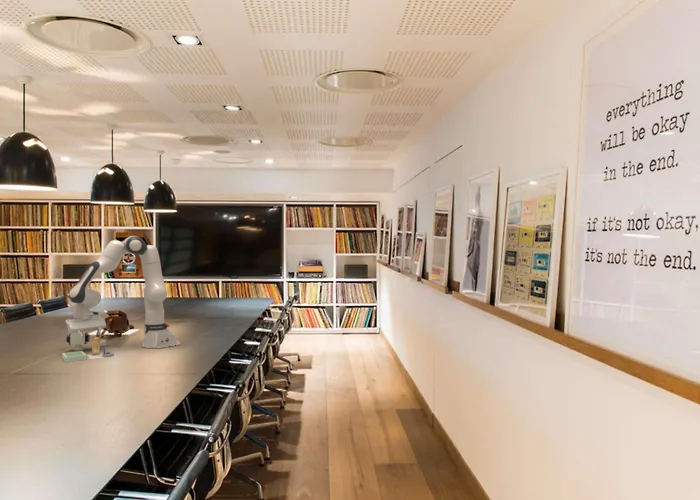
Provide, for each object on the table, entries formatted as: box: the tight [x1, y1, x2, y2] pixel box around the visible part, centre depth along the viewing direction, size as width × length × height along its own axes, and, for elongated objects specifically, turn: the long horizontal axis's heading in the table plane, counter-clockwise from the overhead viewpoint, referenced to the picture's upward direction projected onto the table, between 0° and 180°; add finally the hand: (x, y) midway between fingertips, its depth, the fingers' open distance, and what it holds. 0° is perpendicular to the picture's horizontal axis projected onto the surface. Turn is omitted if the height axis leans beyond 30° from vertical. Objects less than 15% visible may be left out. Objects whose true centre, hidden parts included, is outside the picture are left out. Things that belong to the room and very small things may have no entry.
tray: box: [61, 350, 88, 363], centre depth 267 cm, size 10×12×4 cm
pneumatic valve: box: [66, 331, 91, 352], centre depth 289 cm, size 6×12×12 cm, turn 107°
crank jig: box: [86, 344, 117, 360], centre depth 276 cm, size 13×12×7 cm
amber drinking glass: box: [91, 335, 101, 355], centre depth 277 cm, size 4×4×10 cm
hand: (91, 335), depth 280 cm, fingers open, 8 cm apart
